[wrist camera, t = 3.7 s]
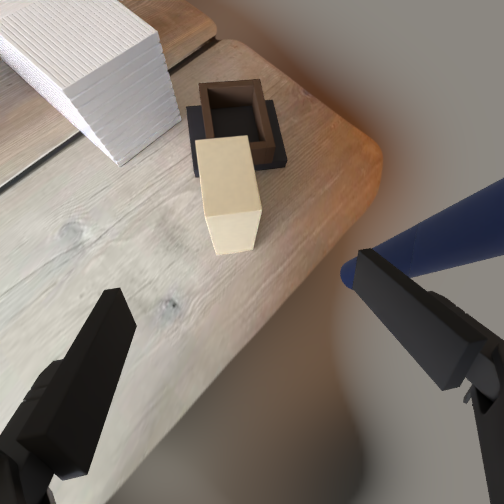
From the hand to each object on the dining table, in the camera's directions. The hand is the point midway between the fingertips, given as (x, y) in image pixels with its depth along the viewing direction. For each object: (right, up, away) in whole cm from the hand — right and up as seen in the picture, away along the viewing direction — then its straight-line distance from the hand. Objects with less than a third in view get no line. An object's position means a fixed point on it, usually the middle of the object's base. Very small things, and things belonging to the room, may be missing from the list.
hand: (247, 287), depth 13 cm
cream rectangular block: (-2, +5, +16) cm, 17 cm away
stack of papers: (-25, +27, +21) cm, 42 cm away
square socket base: (-2, +17, +20) cm, 26 cm away
